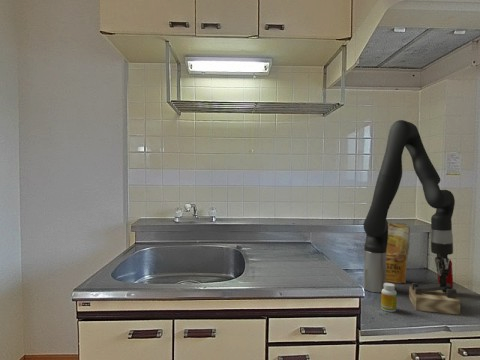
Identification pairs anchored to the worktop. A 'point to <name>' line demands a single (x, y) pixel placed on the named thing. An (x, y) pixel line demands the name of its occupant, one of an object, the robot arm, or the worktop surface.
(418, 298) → the oak box
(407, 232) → the pancake mix bag
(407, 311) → the worktop surface
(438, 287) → the bar
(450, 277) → the beverage can
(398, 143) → the robot arm
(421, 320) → the worktop surface
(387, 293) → the supplement bottle
